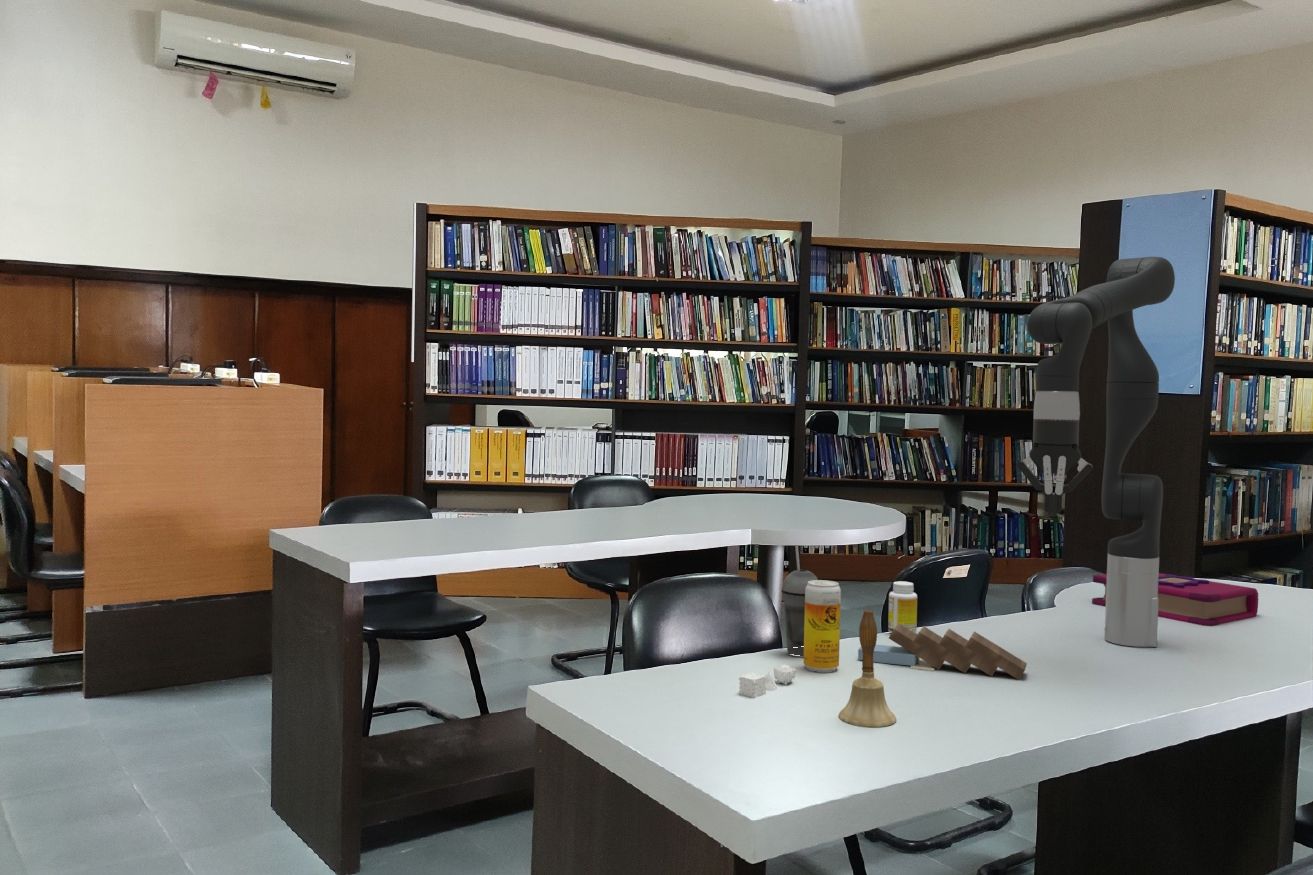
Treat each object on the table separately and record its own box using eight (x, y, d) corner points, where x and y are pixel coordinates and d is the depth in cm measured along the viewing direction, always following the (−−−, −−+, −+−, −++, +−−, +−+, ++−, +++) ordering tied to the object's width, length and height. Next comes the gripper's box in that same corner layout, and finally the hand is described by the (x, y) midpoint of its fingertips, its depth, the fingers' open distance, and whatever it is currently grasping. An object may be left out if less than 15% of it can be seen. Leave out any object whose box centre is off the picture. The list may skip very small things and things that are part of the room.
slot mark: (939, 661, 182) (939, 660, 182) (933, 670, 175) (933, 669, 175) (916, 659, 183) (916, 657, 183) (910, 668, 177) (910, 667, 177)
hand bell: (860, 730, 143) (863, 618, 142) (827, 713, 150) (830, 606, 150) (908, 724, 146) (911, 614, 146) (873, 707, 154) (876, 603, 153)
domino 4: (1000, 660, 176) (948, 628, 180) (997, 666, 172) (944, 634, 175) (994, 669, 177) (943, 637, 180) (991, 676, 172) (939, 643, 176)
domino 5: (1026, 663, 175) (974, 631, 178) (1024, 670, 170) (971, 637, 174) (1020, 672, 175) (968, 640, 179) (1018, 679, 171) (965, 646, 174)
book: (1139, 596, 250) (1140, 566, 250) (1258, 618, 227) (1259, 584, 226) (1089, 605, 238) (1090, 573, 238) (1208, 629, 215) (1210, 593, 215)
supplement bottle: (922, 634, 203) (923, 583, 203) (904, 638, 200) (906, 586, 199) (899, 629, 207) (900, 579, 207) (882, 632, 204) (883, 582, 203)
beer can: (817, 674, 171) (819, 587, 171) (796, 666, 177) (798, 581, 176) (846, 671, 174) (848, 584, 174) (824, 662, 180) (826, 578, 179)
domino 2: (948, 653, 180) (898, 623, 183) (944, 660, 175) (893, 628, 179) (942, 663, 180) (893, 632, 184) (939, 670, 176) (888, 638, 179)
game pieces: (755, 700, 157) (755, 680, 157) (738, 696, 160) (738, 675, 160) (798, 684, 166) (798, 664, 166) (781, 680, 169) (782, 661, 168)
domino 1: (919, 648, 182) (864, 643, 186) (914, 654, 177) (858, 649, 181) (919, 659, 182) (864, 654, 186) (914, 666, 177) (858, 660, 182)
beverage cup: (810, 661, 180) (813, 549, 179) (773, 655, 184) (775, 546, 183) (826, 653, 186) (829, 545, 186) (789, 647, 190) (792, 541, 189)
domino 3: (974, 657, 178) (923, 625, 181) (971, 663, 174) (919, 631, 177) (968, 666, 179) (918, 635, 182) (965, 673, 174) (913, 641, 177)
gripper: (1014, 416, 177) (1011, 515, 178) (1097, 418, 172) (1093, 520, 172) (1017, 416, 184) (1014, 511, 185) (1097, 418, 179) (1093, 515, 179)
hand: (1053, 515), depth 178 cm, fingers closed
